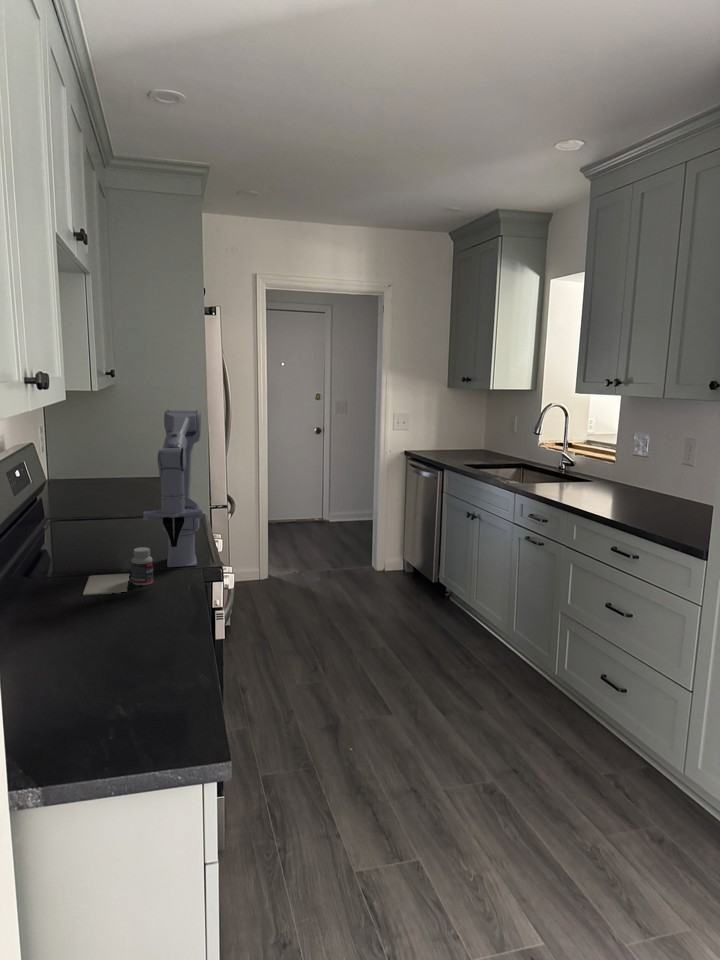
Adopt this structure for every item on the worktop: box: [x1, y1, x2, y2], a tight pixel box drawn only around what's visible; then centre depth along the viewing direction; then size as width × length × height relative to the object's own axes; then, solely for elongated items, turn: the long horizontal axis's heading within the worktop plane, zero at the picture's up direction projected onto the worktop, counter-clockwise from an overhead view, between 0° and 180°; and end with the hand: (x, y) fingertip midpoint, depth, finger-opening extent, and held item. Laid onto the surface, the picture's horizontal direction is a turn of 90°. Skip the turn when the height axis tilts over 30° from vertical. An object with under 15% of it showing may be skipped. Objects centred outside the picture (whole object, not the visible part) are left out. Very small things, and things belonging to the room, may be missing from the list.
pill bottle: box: [130, 546, 154, 586], centre depth 167 cm, size 5×5×9 cm
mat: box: [82, 572, 131, 596], centre depth 165 cm, size 14×10×1 cm
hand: (174, 545), depth 168 cm, fingers closed
